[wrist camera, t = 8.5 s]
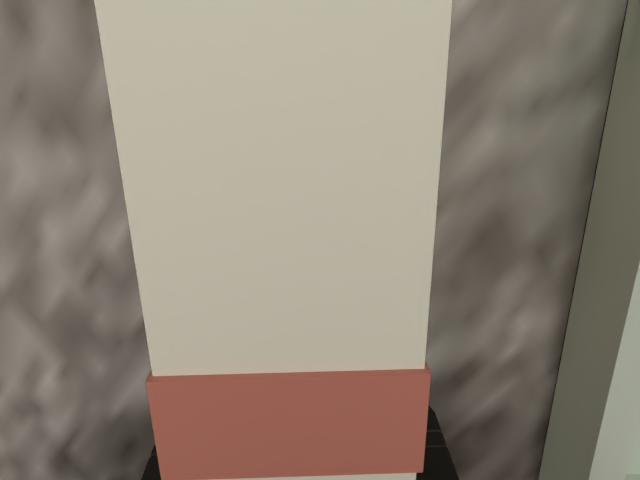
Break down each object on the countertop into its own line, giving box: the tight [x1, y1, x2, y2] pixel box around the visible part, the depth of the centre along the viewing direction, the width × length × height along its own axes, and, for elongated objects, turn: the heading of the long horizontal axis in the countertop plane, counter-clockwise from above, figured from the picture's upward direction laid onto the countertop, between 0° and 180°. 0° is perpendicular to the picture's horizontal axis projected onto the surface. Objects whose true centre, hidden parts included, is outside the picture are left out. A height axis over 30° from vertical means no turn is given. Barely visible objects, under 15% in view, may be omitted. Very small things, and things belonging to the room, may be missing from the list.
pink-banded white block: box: [94, 0, 452, 480], centre depth 7 cm, size 3×14×5 cm, turn 1°
